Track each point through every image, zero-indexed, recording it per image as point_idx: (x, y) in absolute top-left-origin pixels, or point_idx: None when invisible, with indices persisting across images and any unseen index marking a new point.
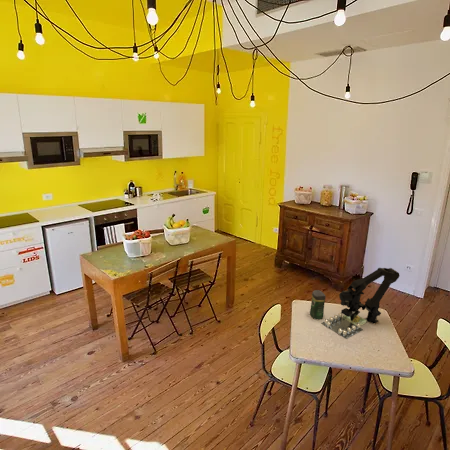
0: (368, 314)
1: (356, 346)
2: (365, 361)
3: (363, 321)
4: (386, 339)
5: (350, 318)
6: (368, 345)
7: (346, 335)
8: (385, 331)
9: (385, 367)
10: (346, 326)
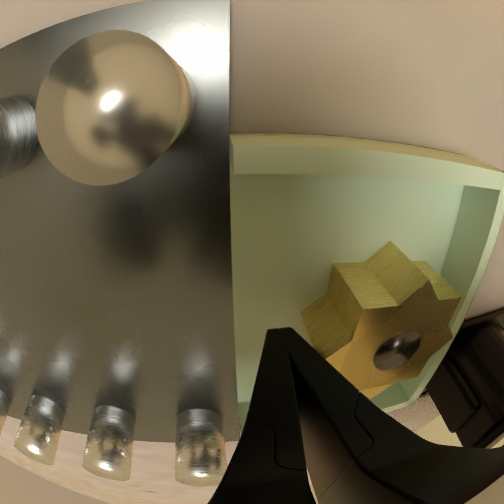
0: (482, 414)
1: None
2: (45, 473)
3: None
4: None
5: (261, 354)
6: None
7: (15, 404)
8: None
9: (104, 500)
10: (82, 350)
